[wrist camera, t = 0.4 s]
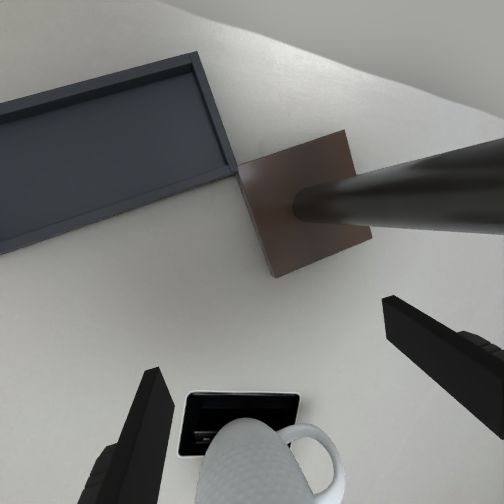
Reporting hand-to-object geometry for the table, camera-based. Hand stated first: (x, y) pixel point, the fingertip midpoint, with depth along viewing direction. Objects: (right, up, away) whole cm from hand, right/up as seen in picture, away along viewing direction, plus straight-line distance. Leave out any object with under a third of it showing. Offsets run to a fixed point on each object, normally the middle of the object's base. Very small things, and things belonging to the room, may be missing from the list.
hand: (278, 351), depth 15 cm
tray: (-16, +14, +9) cm, 23 cm away
